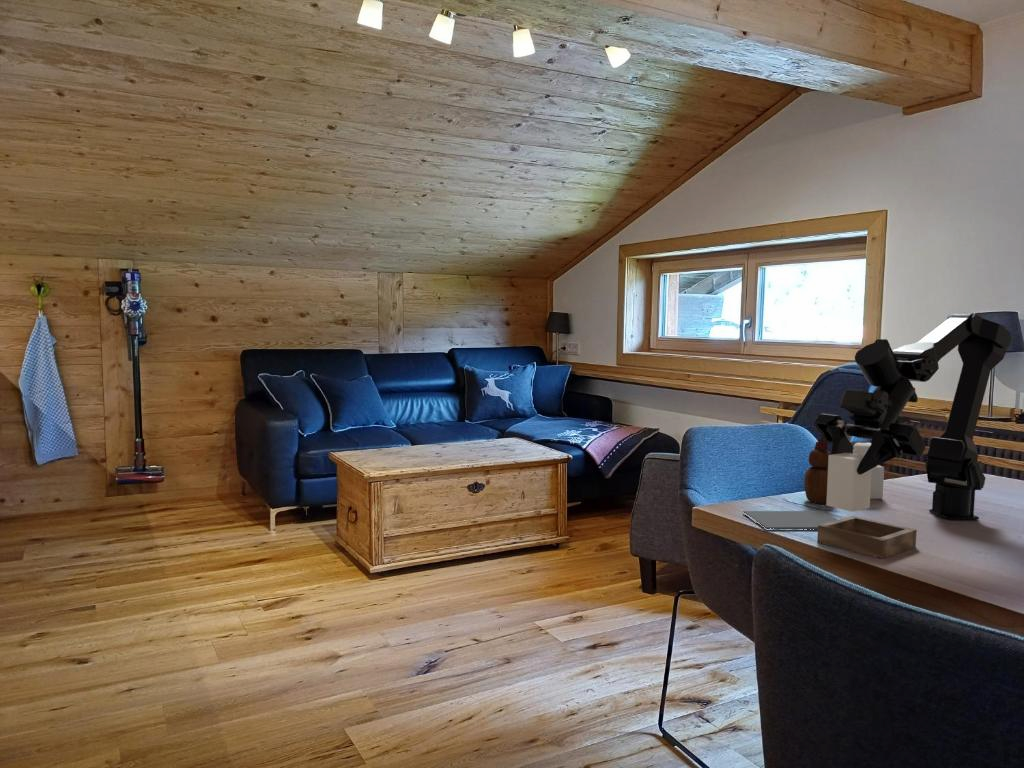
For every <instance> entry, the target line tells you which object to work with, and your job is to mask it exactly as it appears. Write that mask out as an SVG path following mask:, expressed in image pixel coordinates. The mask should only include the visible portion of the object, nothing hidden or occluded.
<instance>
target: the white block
mask: <svg viewBox="0 0 1024 768" xmlns="http://www.w3.org/2000/svg"><path fill="white" fill-rule="evenodd" d="M863 457H864V456H863V455H857V454H851V453H841V454H833V455H829V458H828V481H827V503H825V504H826V506H827V507H831V508H836V509H840V510H842V511H848V512H857V511H862V510H867V509H870V507H871V499H870V492H871V471H872V469H870V470H869V471H867V472H865V473H863V474H861V475H859V474H858V473H857V468H858V466H859V464H860V462H861V460H862V459H863Z"/></svg>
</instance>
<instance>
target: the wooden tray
mask: <svg viewBox="0 0 1024 768" xmlns="http://www.w3.org/2000/svg"><path fill="white" fill-rule="evenodd" d="M917 531H918V530H917V529H915V528H910V527H908V526H907V527H906V526H901V525H897V524H891V523H889V522H888V523H887V522H882V521H878V520H874V519H870V518H865V517H860V516H857V515H851V516H847V517H843V518H840V519H838V520H835V521H832V522H828V523H824V524H821V525H818V530H817V539H816V540H817V543H819V542H821V543H820V544H823V543H825V544H824V545H827V544H828V545H827V546H830V545H832V547H834V546H836V547H835V548H838V547H840V548H839V549H842V548H844V549H843V550H846V549H847V551H850V550H851V551H850V552H854V551H855V553H858V552H859V553H858V554H862V553H863V554H862V555H866V554H867V555H866V556H870V555H871V556H870V557H873V556H876V557H875V558H877V557H880V558H879V559H881V558H883V559H885V558H884V557H886V558H888V557H890V555H891V556H894V555H897V554H899V553H902V552H903V553H904V552H905V551H908V550H910V549H915V548H916V547H917ZM896 553H897V554H896Z"/></svg>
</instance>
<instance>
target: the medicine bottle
mask: <svg viewBox="0 0 1024 768" xmlns="http://www.w3.org/2000/svg"><path fill="white" fill-rule="evenodd" d="M850 443H851V445H852V446H853V448H854V449H853V450H852V451H851V452H850V453H851V454H857V455H863V456H864V455H865V454H866V452H867V451H868V449H869V447H870V446H871V443H872V442H868V441H862V440H861V441H860V440H859V441H858V440H852V441H850ZM884 477H885V467H884V466H882V465H878V466H876V467H874V468H872V471H871V492H870V500H882V499H883V497H884V496H883V495H884V482H885V481H884Z"/></svg>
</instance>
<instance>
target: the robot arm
mask: <svg viewBox="0 0 1024 768" xmlns="http://www.w3.org/2000/svg"><path fill="white" fill-rule="evenodd" d="M946 317H947V318H946V320H945V321H943V322H942V323H941V324H940V325H938V326H937V327H935V329H933V330H932V331H930V332H929V333H928V334H927V335H925V336H924V337H923V338H922V339H920V340H919V341H917V342H915V343H914V342H913V343H910V344H904V345H902V346H899V347H897V348H895V349H892V347H891V344H890V342H889V340H888V339H887V338H876V340H875V341H874V342H872V343H870V344H867V345H865V346H863V347H862V348H860V349H859V350H857V351H856V353H855V355H854V361H855V363H856V365H857V366H858V368H859V370H860V372H861V373H862V375H863V377H864V378H865V380H866V382H867V383H868V385H870V386H873V387H875V389H874V391H871V392H869V391H865V390H858V389H857V390H856V389H845V390H844V391H843V395H842V398H841V401H840V403H839V407H840V408H841V409H844V410H846V411H847V412H849V414H848V417H849V419H850V421H853V423H847V422H846V421H844V420H843V419H842V417H841V415H839V414H838V415H837V414H830V413H819V414H817V417H816V418H815V420H814V421H813V425H814V426H815V428H816V429H817V430H818V431H817V432H819V434H820V435H822V437H823V439H824V440H825V441H827V444H832V445H831V451H830V453H831V455H833V454H841V453H850V452H851V451H852V450H853V449H854V448H853V446H852V445H851V443H850V442H851V438H852V437H855V438H857V439H861V440H862V439H863V440H870V441H871V442H870V443H871V446H870V447H869V449H868V451H867V452H866V454H865V455H864V457H863V459H862V460H861V462H860V464H859V466H858V468H857V473H858V474H859V475H861V474H863V473H865V472H867V471H869V470H870V469H872V468H874V467H876V466H878V465H879V466H881V465H882V464H884V463H886V462H888V461H890V460H893V459H895V458H901V457H902V453H903V455H904V456H907V457H914V458H921V457H922V455H923V453H924V451H925V450H926V442H925V441H924V439H923V438H922V436H921V434H920V432H919V431H918V428H917V427H916V425H915V424H910V423H902V421H903V419H902V417H901V414H902V412H903V411H904V408H906V407H907V406H906V405H907V404H908V403H914V404H915V403H917V402H918V400H919V399H918V394H917V392H916V387H914V386H913V383H912V382H922V383H926V382H928V381H930V380H931V378H932V377H933V376H934V375H935V374H936V372H937V371H938V370H939V362H940V360H941V359H942V358H944V357H945V356H946V355H947V354H948V353H950V352H951V351H953V350H954V349H955V348H957V352H958V355H959V356H960V357H959V358H960V359H961V362H962V367H961V369H960V374H959V379H958V380H957V381H958V383H957V386H956V389H955V392H954V396H953V401H952V405H951V408H950V412H949V415H948V419H947V424H946V427H945V430H944V432H943V433H942V434H941V435H940V436H939V437H937V436H933V437H932V438H931V440H930V442H929V448H928V451H927V453H926V455H925V457H926V458H925V460H924V461H925V463H924V464H925V471H926V476H927V477H926V478H927V482H928V483H930V484H935V488H934V490H933V492H932V502H931V503H932V505H931V506H932V507H931V508H929V510H928V512H929V513H931V514H934V515H936V516H939V517H941V518H944V519H946V520H980V517H979V515H975V501H976V500H975V499H976V497H975V496H976V491H982V489H983V488H984V486H985V483H986V476H985V474H984V471H982V469H981V467H980V465H979V463H978V460H979V459H978V458H979V452H978V450H977V449H978V448H977V447H976V444H975V441H974V436H975V431H976V428H977V424H978V419H979V416H980V413H981V412H980V411H981V409H982V404H983V401H984V397H985V393H986V389H987V386H988V383H989V378H990V375H991V371H992V370H993V369H994V368H995V367H996V366H997V365H998V364H999V363H1001V362H1002V360H1004V358H1005V355H1006V353H1007V350H1008V347H1009V346H1010V344H1011V342H1012V341H1011V340H1012V335H1011V332H1010V331H1009V330H1008V328H1006V327H1005V325H1004V324H1000V323H997V322H995V321H991V320H989V319H986V318H983V317H981V316H980V315H979V314H976V313H968V312H966V313H965V312H961V313H959V312H957V313H956V312H955V313H952V314H949V315H948V316H946ZM901 451H902V453H901Z"/></svg>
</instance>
